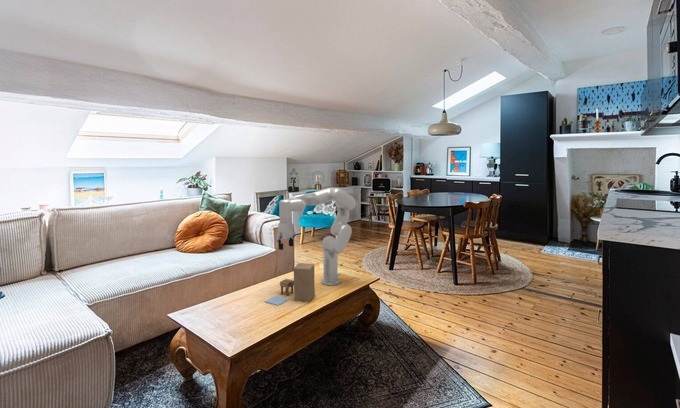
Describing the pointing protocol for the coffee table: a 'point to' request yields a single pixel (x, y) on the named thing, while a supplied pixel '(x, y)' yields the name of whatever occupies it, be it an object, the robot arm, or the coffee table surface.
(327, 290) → the coffee table surface
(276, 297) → the mat
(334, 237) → the robot arm
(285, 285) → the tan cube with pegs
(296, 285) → the wooden block
